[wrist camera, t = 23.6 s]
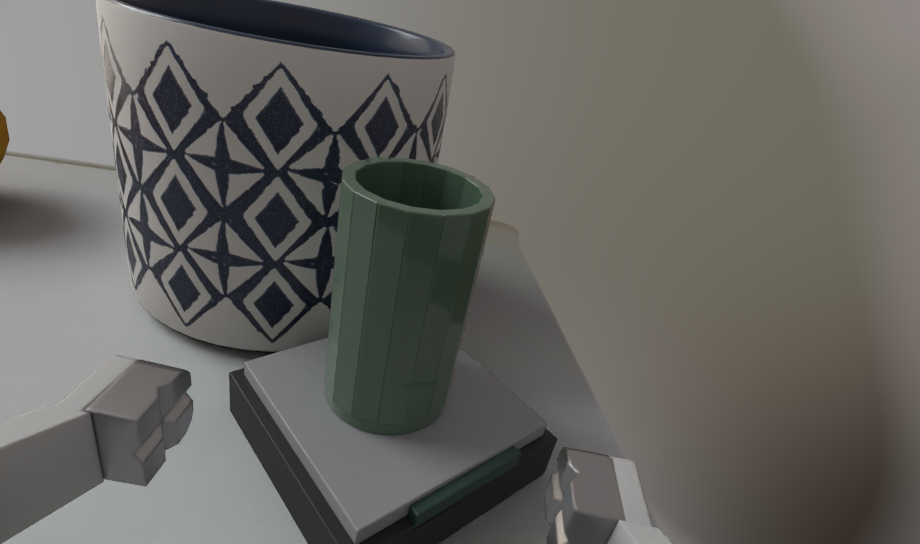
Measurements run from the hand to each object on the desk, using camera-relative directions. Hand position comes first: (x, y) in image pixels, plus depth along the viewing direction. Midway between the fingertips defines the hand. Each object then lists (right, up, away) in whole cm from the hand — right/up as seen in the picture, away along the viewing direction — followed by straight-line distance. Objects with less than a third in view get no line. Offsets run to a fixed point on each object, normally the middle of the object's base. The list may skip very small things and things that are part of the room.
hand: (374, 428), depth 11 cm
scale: (-2, -5, +14) cm, 15 cm away
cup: (-1, -2, +13) cm, 13 cm away
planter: (-10, +3, +25) cm, 27 cm away
